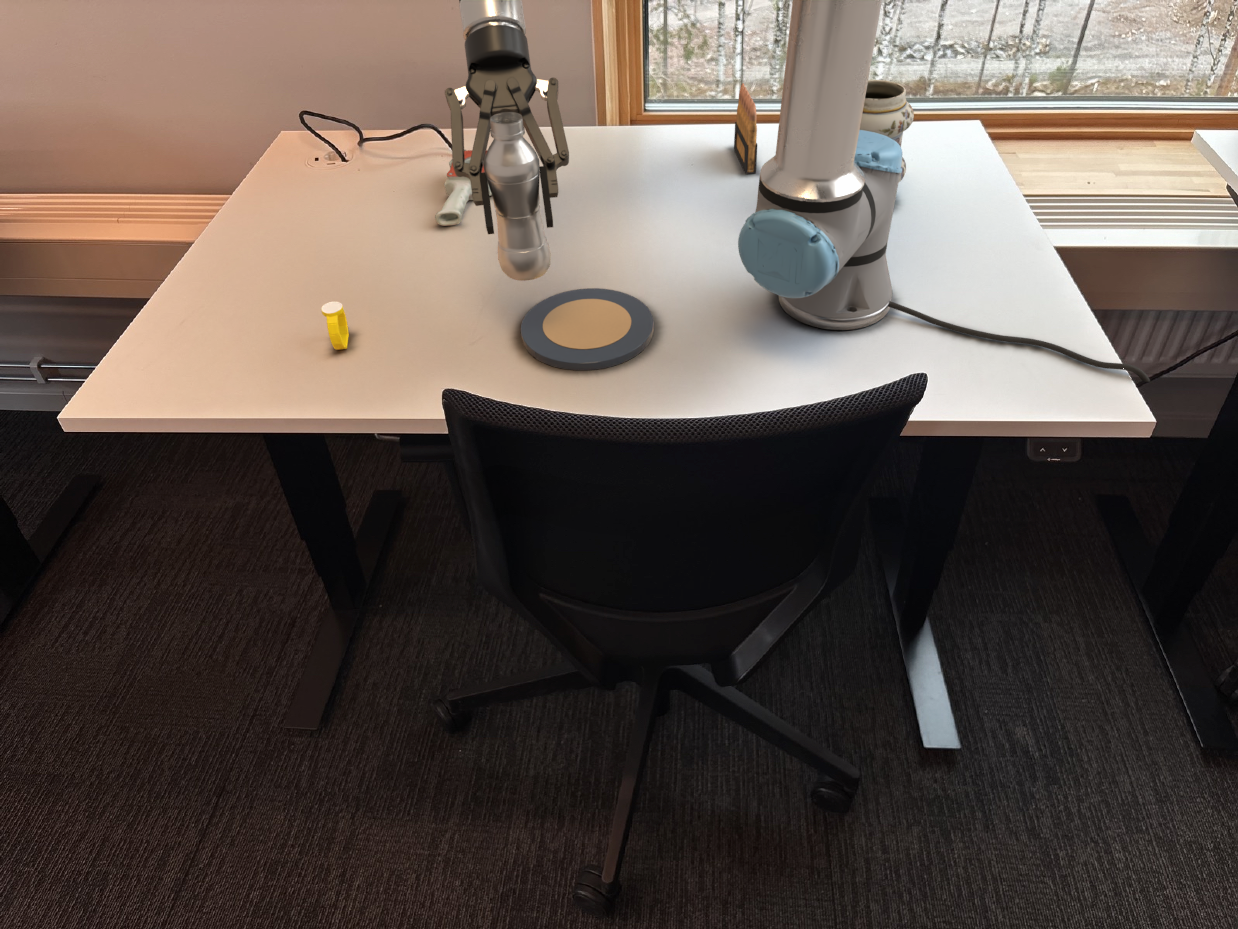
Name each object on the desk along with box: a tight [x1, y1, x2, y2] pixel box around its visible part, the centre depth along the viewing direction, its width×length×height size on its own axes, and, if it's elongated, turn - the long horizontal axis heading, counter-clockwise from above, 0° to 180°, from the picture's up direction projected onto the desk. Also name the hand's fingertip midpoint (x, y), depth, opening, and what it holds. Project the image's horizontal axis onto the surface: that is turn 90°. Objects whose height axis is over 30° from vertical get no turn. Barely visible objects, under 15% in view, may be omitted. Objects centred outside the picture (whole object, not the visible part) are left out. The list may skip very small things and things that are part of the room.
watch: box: [320, 301, 350, 351], centre depth 120 cm, size 6×3×6 cm, turn 7°
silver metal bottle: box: [483, 112, 552, 282], centre depth 108 cm, size 6×7×20 cm
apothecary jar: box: [860, 79, 915, 183], centre depth 140 cm, size 12×12×18 cm
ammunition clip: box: [733, 82, 758, 175], centre depth 155 cm, size 11×2×12 cm, turn 6°
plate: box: [520, 287, 655, 371], centre depth 121 cm, size 18×18×1 cm
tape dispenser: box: [434, 149, 492, 227], centre depth 152 cm, size 18×5×20 cm
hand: (520, 226), depth 106 cm, fingers closed on silver metal bottle, 6 cm apart
